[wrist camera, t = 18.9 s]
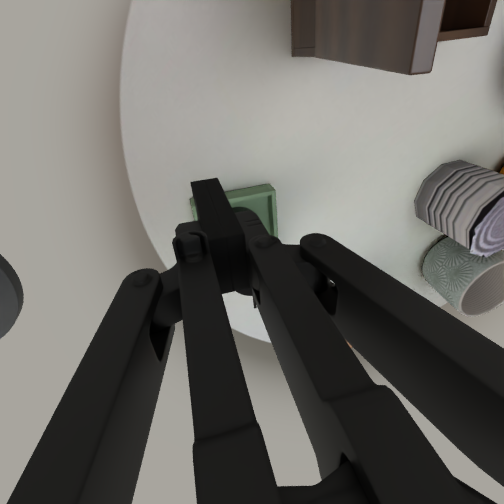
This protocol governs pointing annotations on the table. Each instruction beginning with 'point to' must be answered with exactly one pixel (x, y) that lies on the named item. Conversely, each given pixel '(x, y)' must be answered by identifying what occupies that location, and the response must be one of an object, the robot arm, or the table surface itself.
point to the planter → (465, 277)
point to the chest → (452, 27)
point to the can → (465, 205)
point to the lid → (379, 33)
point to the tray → (254, 204)
